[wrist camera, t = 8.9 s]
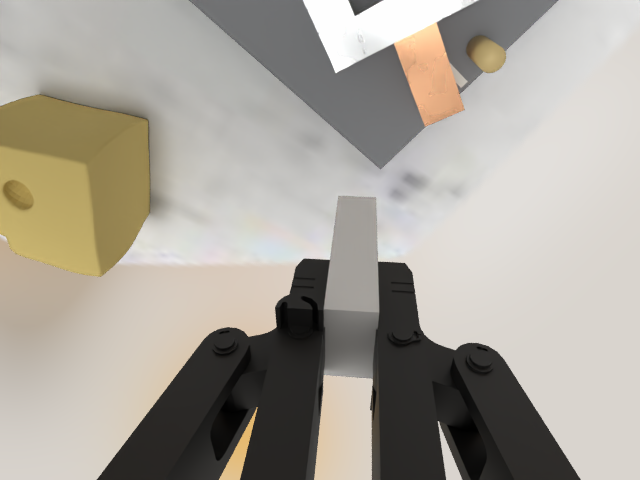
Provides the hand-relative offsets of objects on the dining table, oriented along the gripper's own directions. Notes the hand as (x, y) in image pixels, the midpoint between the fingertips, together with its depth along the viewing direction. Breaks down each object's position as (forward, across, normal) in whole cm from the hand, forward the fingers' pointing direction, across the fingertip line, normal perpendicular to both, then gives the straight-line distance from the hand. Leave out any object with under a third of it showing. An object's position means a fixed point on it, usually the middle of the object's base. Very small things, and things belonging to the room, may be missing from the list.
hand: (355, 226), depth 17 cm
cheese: (+20, -24, -6) cm, 31 cm away
